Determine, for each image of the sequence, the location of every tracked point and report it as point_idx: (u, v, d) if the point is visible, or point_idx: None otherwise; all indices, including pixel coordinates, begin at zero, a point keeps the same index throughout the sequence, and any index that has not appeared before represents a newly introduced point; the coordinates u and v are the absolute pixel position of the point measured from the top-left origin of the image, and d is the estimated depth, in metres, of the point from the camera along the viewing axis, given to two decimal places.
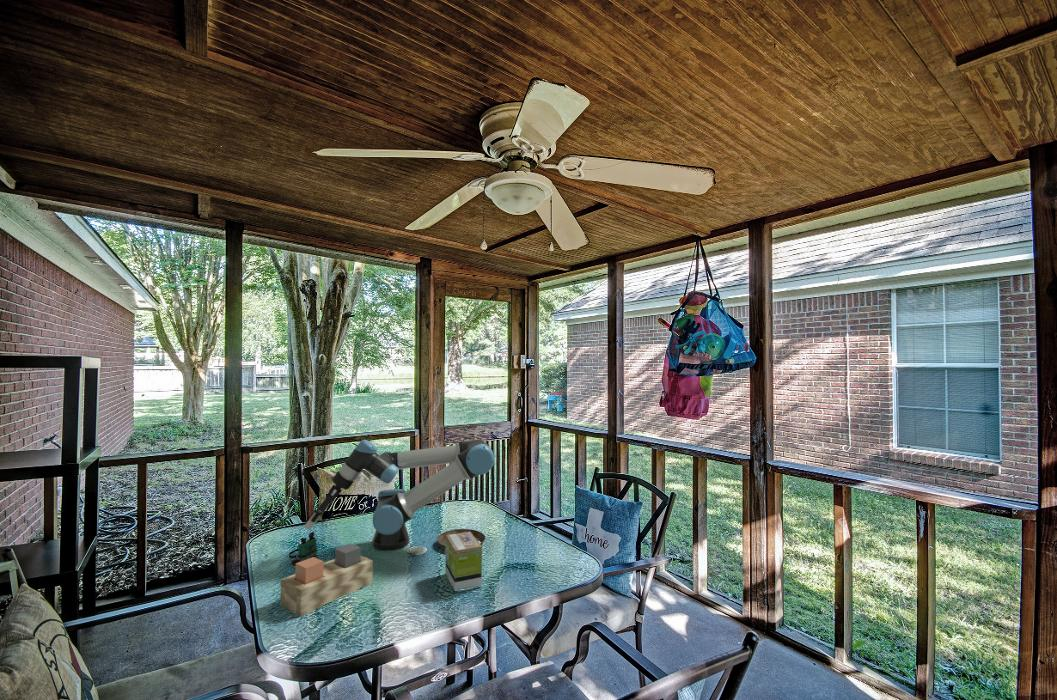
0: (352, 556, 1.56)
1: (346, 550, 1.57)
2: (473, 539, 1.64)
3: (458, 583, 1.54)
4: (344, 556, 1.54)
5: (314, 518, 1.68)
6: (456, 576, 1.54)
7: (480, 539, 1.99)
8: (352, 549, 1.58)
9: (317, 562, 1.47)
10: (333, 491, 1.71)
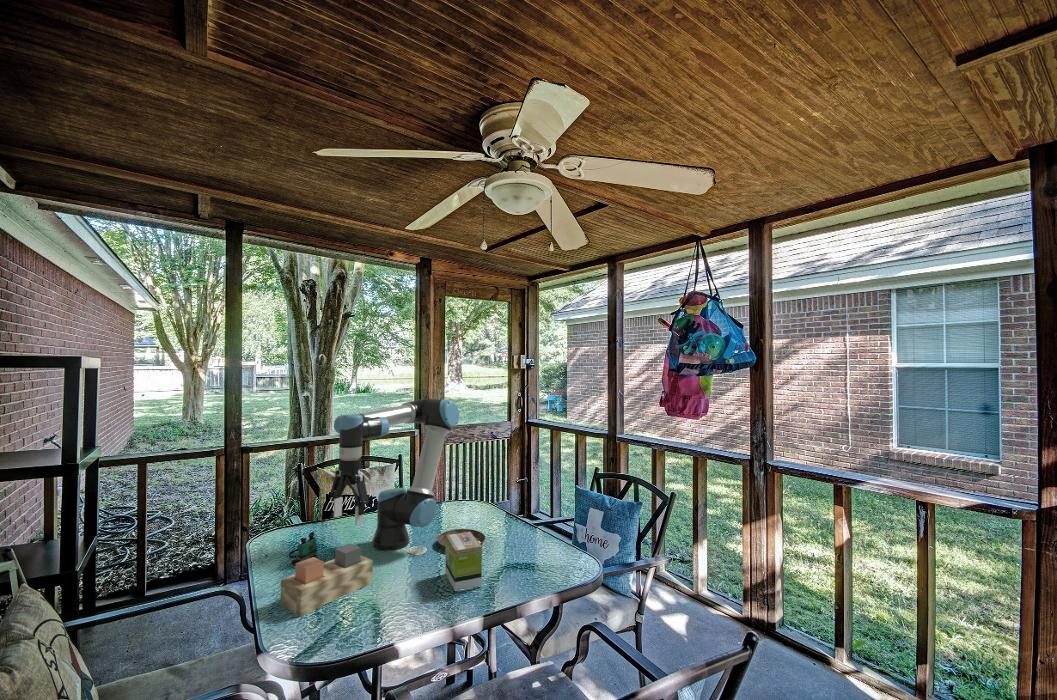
0: (352, 556, 1.56)
1: (346, 550, 1.57)
2: (473, 539, 1.64)
3: (458, 583, 1.54)
4: (344, 556, 1.54)
5: (362, 510, 1.54)
6: (456, 576, 1.54)
7: (480, 539, 1.99)
8: (352, 549, 1.58)
9: (317, 562, 1.47)
10: (360, 477, 1.55)
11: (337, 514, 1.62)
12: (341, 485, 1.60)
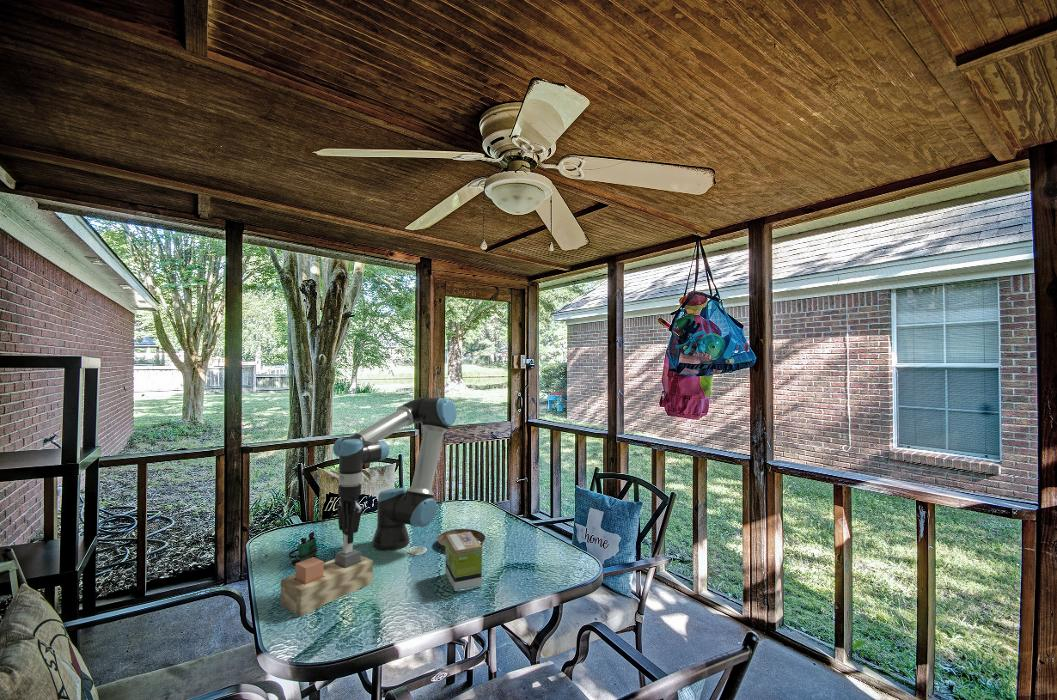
0: (352, 560, 1.56)
1: (346, 554, 1.57)
2: (473, 539, 1.64)
3: (458, 583, 1.54)
4: (344, 560, 1.54)
5: (351, 539, 1.57)
6: (456, 576, 1.54)
7: (480, 539, 1.99)
8: (351, 553, 1.58)
9: (317, 562, 1.47)
10: (359, 510, 1.55)
11: None
12: (345, 513, 1.58)
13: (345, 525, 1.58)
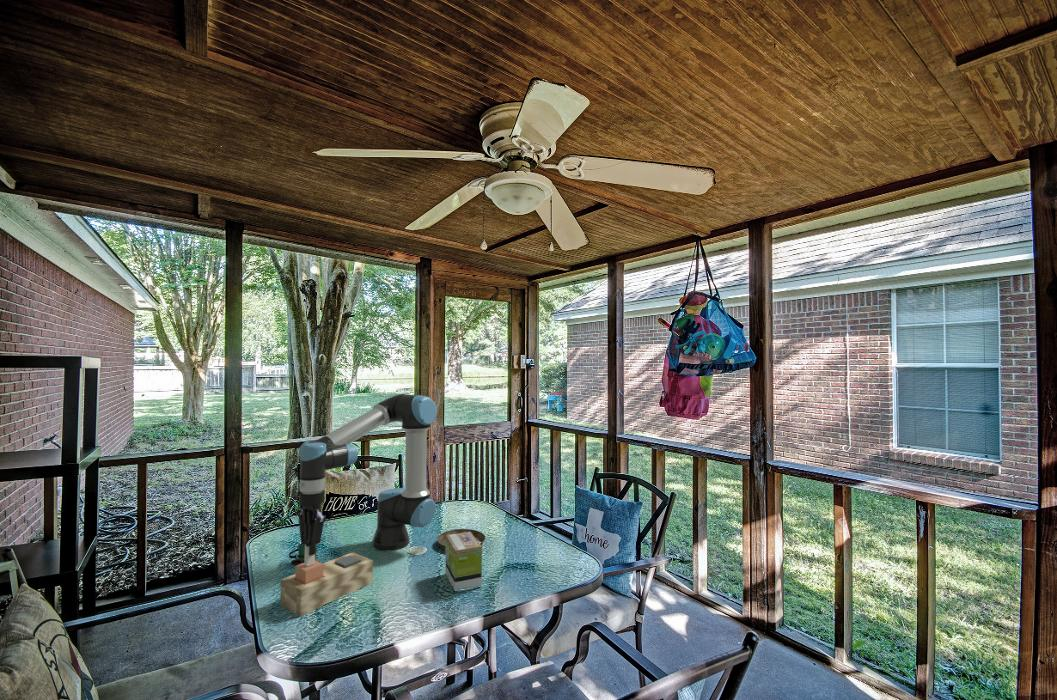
0: None
1: (345, 561, 1.57)
2: (473, 539, 1.64)
3: (458, 583, 1.54)
4: None
5: (313, 550, 1.46)
6: (456, 576, 1.54)
7: (480, 539, 1.99)
8: (351, 561, 1.57)
9: (317, 564, 1.47)
10: (321, 519, 1.43)
11: None
12: (306, 523, 1.46)
13: (307, 535, 1.47)
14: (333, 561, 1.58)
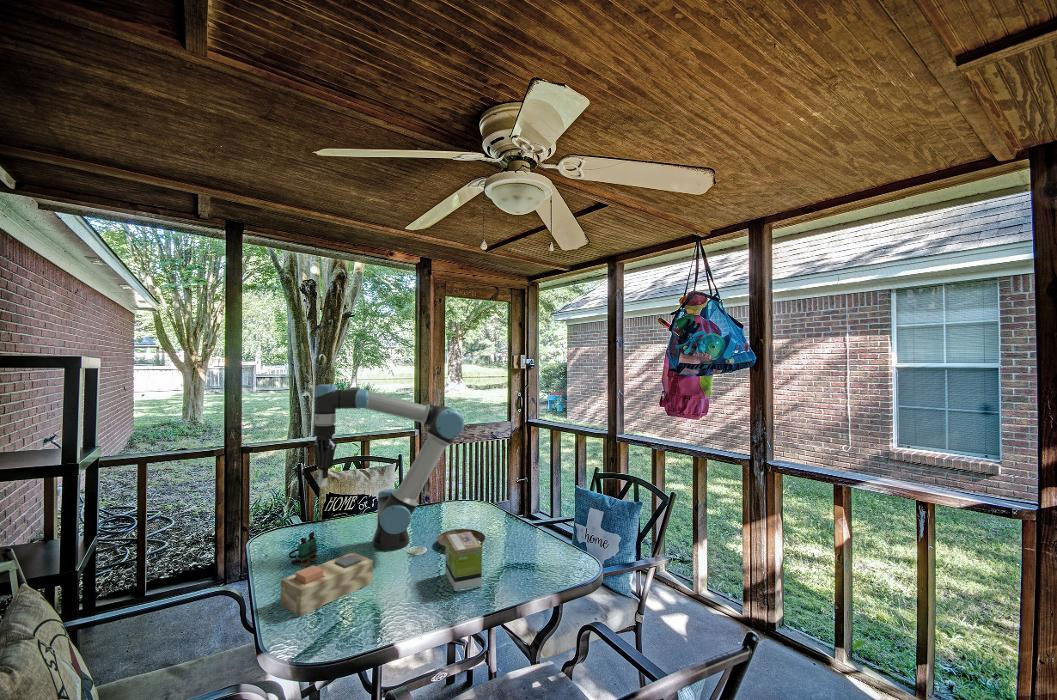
0: None
1: (345, 561, 1.57)
2: (473, 539, 1.64)
3: (458, 583, 1.54)
4: None
5: (326, 474, 1.72)
6: (456, 576, 1.54)
7: (480, 539, 1.99)
8: (351, 561, 1.57)
9: (317, 570, 1.47)
10: (332, 446, 1.70)
11: None
12: (320, 451, 1.73)
13: (320, 462, 1.73)
14: (333, 561, 1.58)
